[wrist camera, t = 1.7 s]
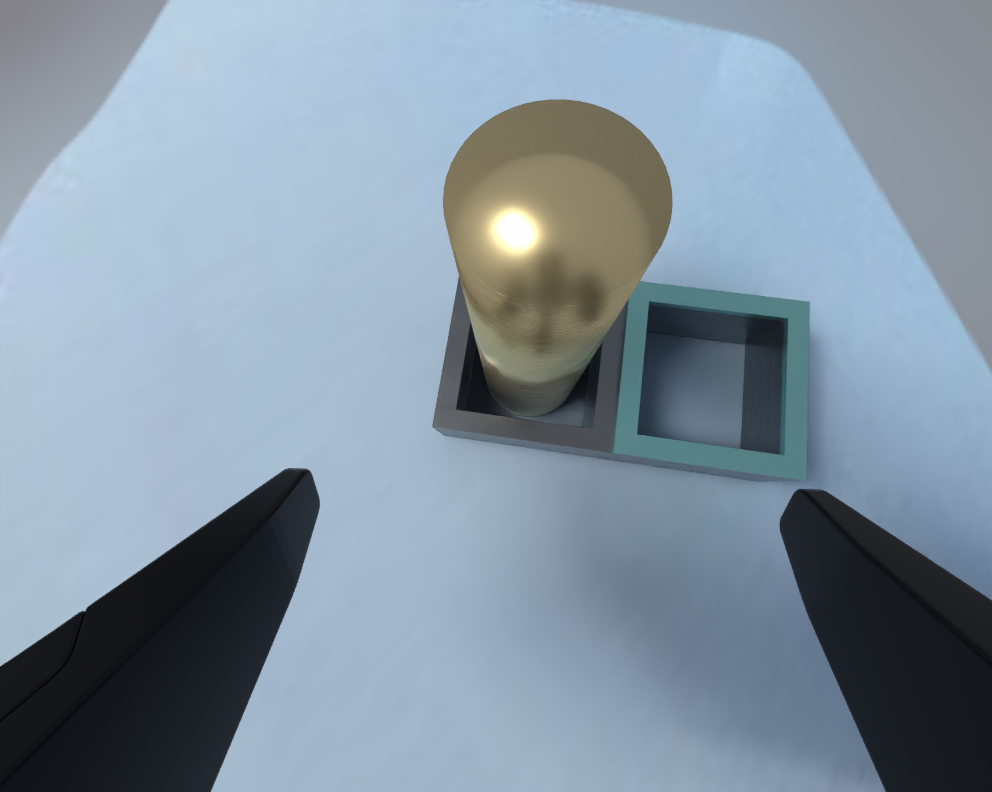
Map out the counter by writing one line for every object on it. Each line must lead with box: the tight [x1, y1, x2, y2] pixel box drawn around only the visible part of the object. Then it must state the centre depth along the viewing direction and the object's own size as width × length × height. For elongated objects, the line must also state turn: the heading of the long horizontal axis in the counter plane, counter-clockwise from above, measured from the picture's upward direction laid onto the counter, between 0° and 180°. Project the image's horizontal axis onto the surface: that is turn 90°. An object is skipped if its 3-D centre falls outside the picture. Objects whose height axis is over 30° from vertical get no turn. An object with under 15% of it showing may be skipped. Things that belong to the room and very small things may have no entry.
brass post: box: [443, 100, 672, 417], centre depth 15 cm, size 4×4×13 cm
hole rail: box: [432, 277, 810, 481], centre depth 19 cm, size 14×7×3 cm, turn 81°
